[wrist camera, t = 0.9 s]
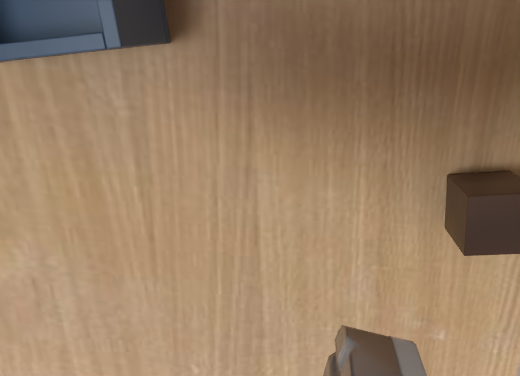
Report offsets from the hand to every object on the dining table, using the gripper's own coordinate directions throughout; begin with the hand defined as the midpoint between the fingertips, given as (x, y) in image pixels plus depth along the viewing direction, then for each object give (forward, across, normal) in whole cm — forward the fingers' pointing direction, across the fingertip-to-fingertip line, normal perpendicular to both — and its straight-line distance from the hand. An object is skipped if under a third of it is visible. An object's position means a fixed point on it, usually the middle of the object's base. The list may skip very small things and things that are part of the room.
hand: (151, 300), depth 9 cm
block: (+21, -16, +2) cm, 26 cm away
